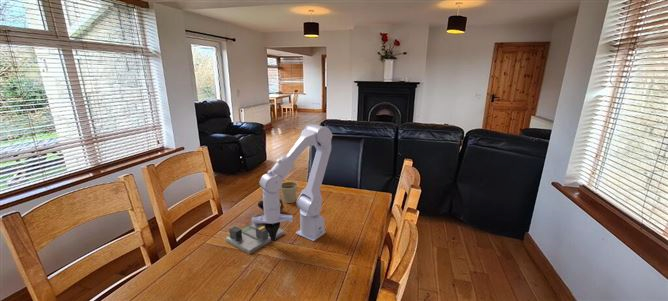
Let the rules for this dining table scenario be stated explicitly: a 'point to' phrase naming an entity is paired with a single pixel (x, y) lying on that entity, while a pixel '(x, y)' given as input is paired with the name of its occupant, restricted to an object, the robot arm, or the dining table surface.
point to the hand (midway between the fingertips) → (273, 239)
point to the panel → (249, 237)
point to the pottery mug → (263, 206)
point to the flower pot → (289, 192)
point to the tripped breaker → (261, 232)
